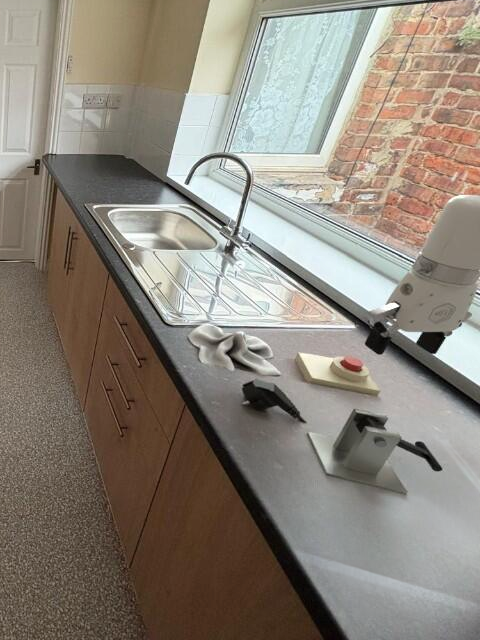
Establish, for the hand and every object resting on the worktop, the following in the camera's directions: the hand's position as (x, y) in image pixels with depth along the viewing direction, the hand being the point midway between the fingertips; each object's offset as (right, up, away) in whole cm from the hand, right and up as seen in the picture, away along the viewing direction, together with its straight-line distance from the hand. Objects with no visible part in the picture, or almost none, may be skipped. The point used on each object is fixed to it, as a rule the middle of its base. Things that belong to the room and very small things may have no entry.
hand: (398, 349), depth 77 cm
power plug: (-19, -15, +7) cm, 25 cm away
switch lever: (-9, -15, -8) cm, 19 cm away
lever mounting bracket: (-13, -20, -4) cm, 24 cm away
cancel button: (+3, -7, +13) cm, 15 cm away
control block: (+1, -10, +15) cm, 18 cm away
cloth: (-17, -7, +23) cm, 29 cm away
